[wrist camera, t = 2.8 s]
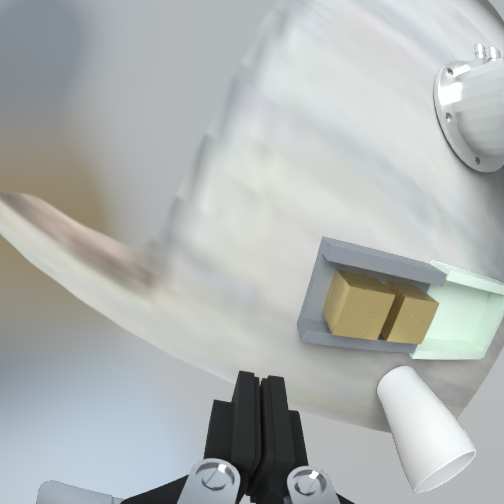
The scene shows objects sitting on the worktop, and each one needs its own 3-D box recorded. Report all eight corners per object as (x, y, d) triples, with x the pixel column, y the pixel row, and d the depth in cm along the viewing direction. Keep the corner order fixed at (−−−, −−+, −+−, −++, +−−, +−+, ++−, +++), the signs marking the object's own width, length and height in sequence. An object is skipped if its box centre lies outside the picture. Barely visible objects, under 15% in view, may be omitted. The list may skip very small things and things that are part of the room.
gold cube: (335, 268, 22) (349, 286, 19) (375, 277, 23) (395, 295, 19) (321, 311, 23) (332, 334, 20) (361, 317, 24) (376, 340, 20)
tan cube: (385, 279, 23) (405, 297, 19) (417, 286, 23) (439, 303, 19) (370, 319, 24) (386, 341, 20) (402, 323, 24) (421, 344, 20)
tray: (431, 259, 23) (450, 269, 20) (497, 279, 24) (513, 289, 21) (398, 341, 26) (412, 358, 22) (468, 345, 26) (482, 358, 23)
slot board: (322, 236, 23) (332, 245, 20) (429, 264, 23) (447, 274, 20) (297, 323, 25) (301, 341, 22) (400, 337, 26) (413, 353, 22)
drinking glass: (428, 365, 27) (487, 447, 12) (395, 404, 28) (437, 490, 14) (393, 352, 26) (457, 451, 12) (358, 395, 28) (398, 497, 13)
